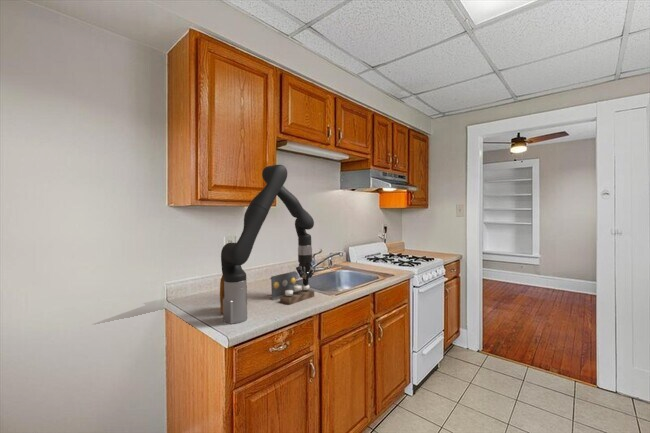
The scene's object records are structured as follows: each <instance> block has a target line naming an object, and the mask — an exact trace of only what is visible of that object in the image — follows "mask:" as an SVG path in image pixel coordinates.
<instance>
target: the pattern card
mask: <svg viewBox="0 0 650 433" xmlns="http://www.w3.org/2000/svg"><path fill="white" fill-rule="evenodd" d="M270 279H271V284H270V285H271V296H269V300H272V301H274V300H275V301H276V300H277V299H280V296H283V295H285V291H286V290H293V292H296V291H295V290H294V285H297V270H294V271H290V272H286V273H282V274H281V273H280V274H276V275H272V276H271V277H270Z"/></svg>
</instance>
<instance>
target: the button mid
mask: <svg viewBox="0 0 650 433" xmlns="http://www.w3.org/2000/svg"><path fill="white" fill-rule="evenodd" d="M294 290H295V291H300V290H302V285H301V284H296V285H294Z"/></svg>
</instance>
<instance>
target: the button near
mask: <svg viewBox="0 0 650 433" xmlns="http://www.w3.org/2000/svg"><path fill="white" fill-rule="evenodd" d="M285 295H286V296H292V295H293V290H286V291H285Z"/></svg>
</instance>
